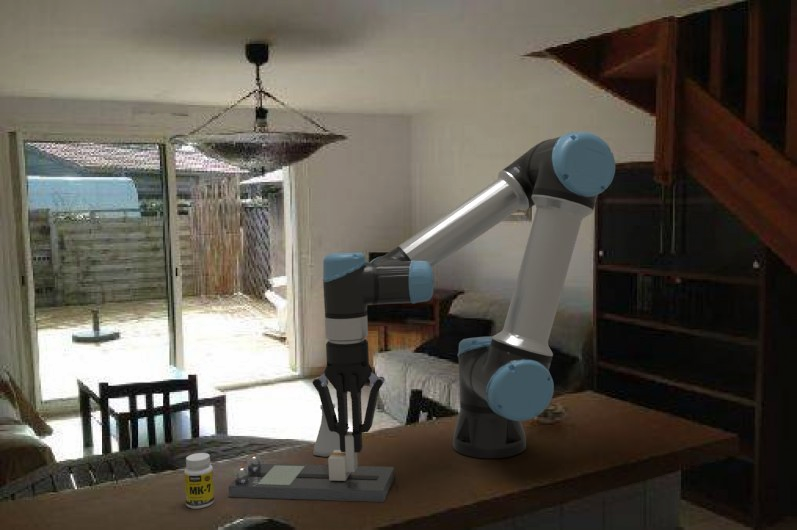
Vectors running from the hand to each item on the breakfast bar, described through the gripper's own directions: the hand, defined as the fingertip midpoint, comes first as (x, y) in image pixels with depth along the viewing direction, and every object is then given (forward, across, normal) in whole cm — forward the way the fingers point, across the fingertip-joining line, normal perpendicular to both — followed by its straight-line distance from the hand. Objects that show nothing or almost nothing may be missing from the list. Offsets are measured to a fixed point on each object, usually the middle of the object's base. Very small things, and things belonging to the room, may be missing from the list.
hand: (352, 469), depth 124 cm
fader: (+1, +2, 0) cm, 3 cm away
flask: (+4, +9, -19) cm, 21 cm away
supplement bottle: (+4, +25, +8) cm, 27 cm away
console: (+4, +7, 0) cm, 8 cm away
